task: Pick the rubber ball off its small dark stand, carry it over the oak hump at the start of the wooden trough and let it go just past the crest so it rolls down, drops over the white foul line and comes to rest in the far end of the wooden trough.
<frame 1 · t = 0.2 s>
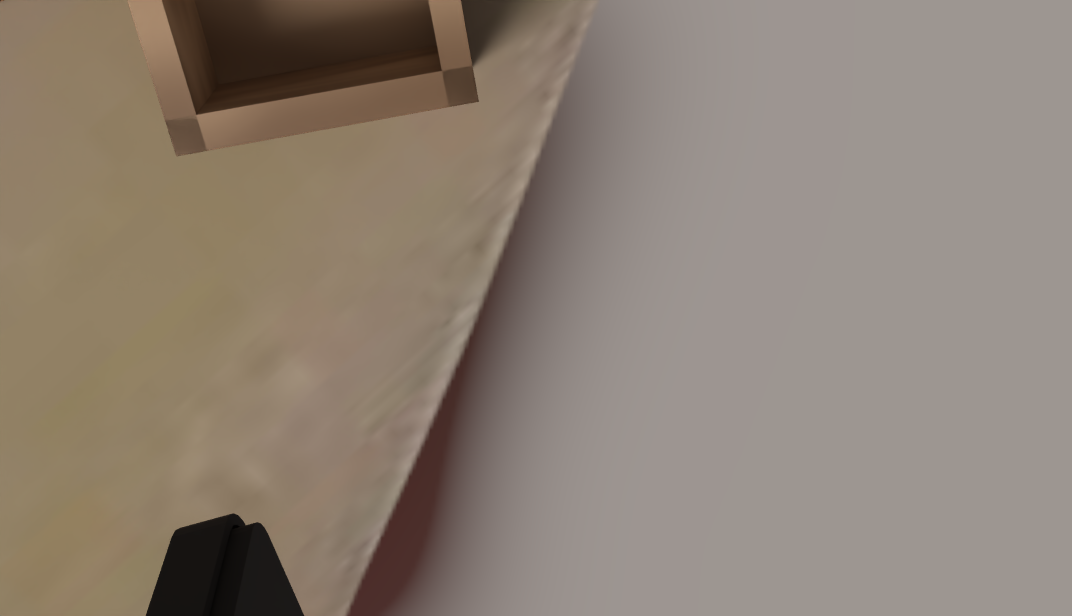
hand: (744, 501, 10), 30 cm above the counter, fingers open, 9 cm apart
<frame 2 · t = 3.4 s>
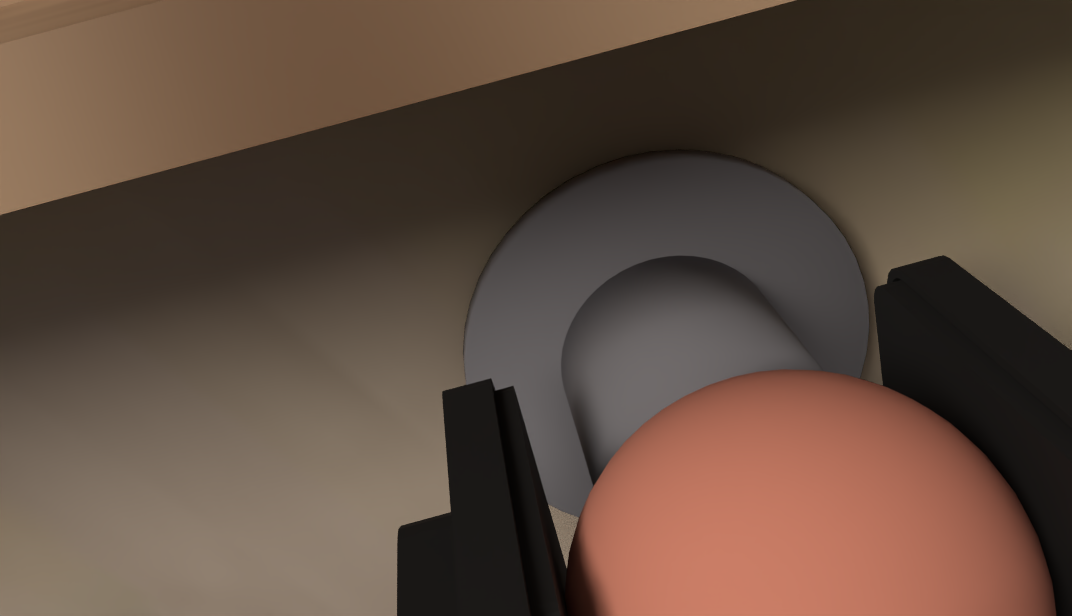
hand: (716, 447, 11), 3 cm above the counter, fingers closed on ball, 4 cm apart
stand: (663, 344, 13), on the counter
ball: (797, 601, 9), point 5 cm above the counter, touching gripper, stand
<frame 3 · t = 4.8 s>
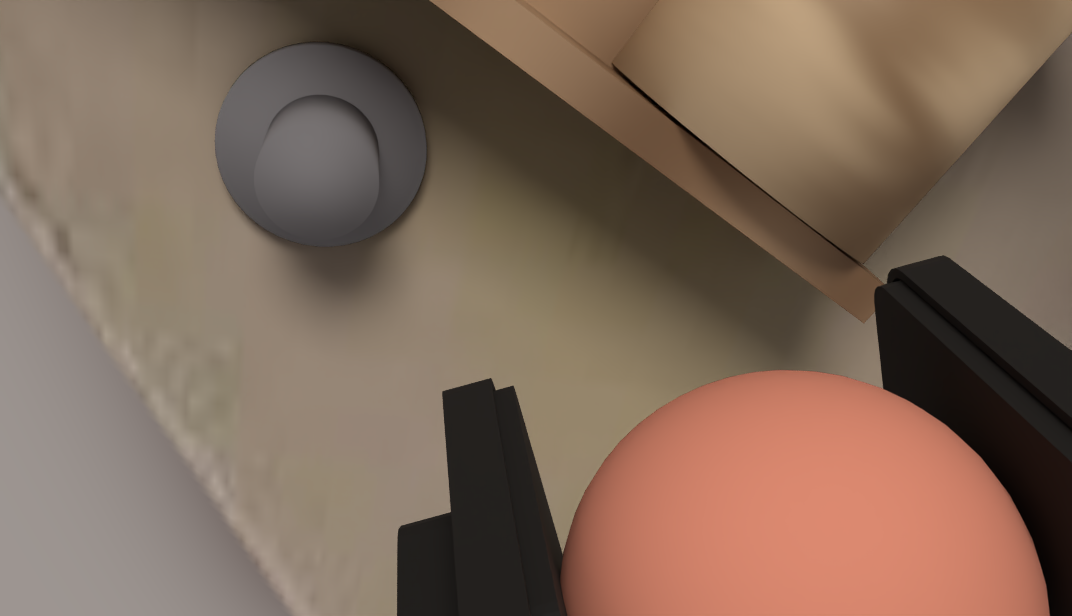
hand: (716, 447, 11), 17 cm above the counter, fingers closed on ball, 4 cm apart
stand: (323, 145, 26), on the counter
ball: (791, 602, 9), point 19 cm above the counter, touching gripper
when the fingers open (7 cm above the counter, at t = 6.7 s): ball drops 7 cm and tips over, resting on wooden trough.
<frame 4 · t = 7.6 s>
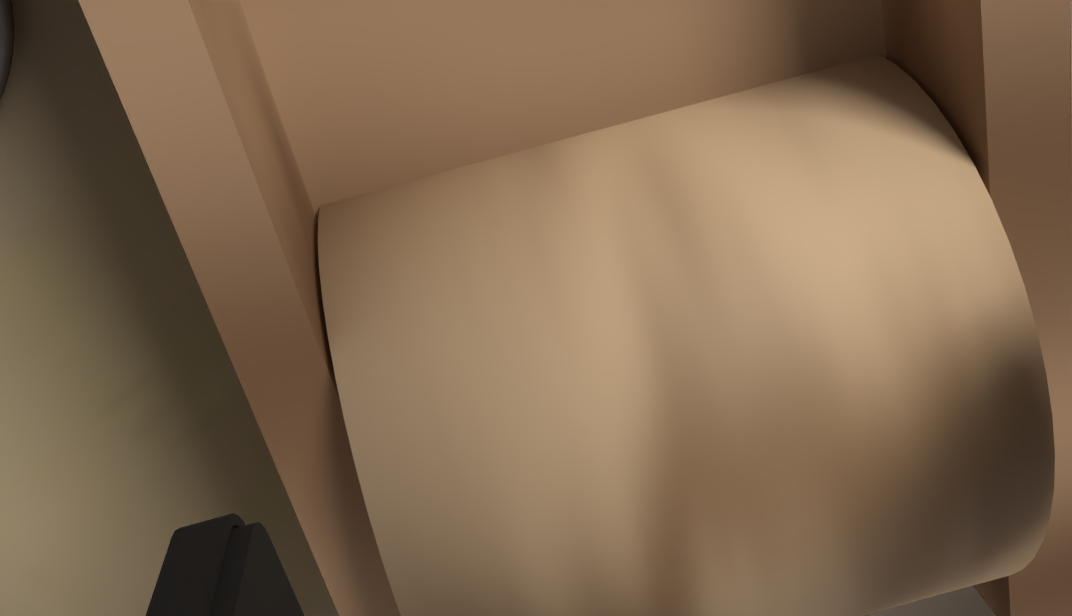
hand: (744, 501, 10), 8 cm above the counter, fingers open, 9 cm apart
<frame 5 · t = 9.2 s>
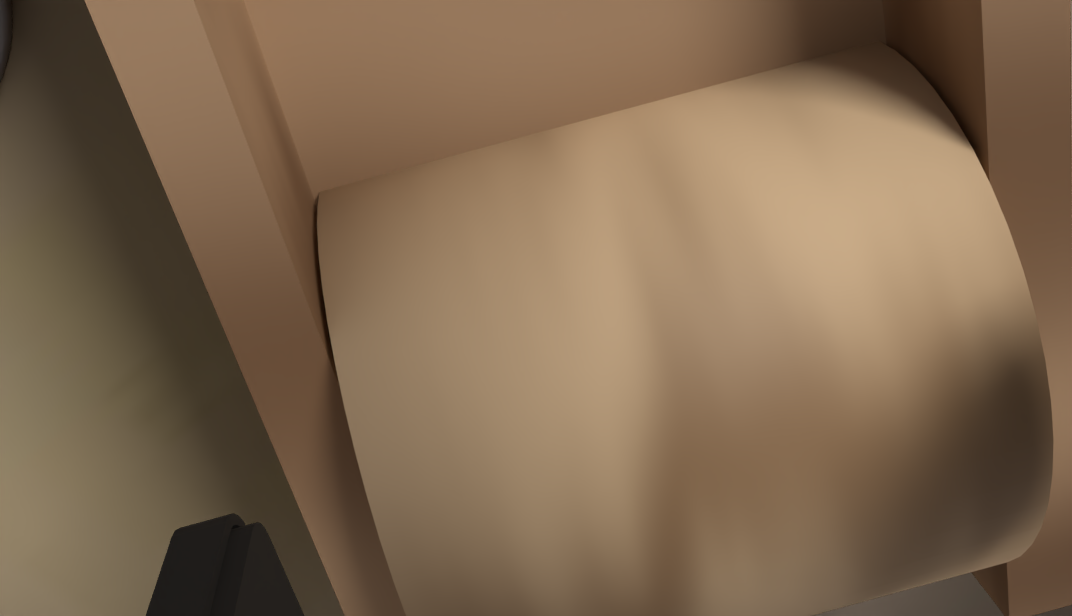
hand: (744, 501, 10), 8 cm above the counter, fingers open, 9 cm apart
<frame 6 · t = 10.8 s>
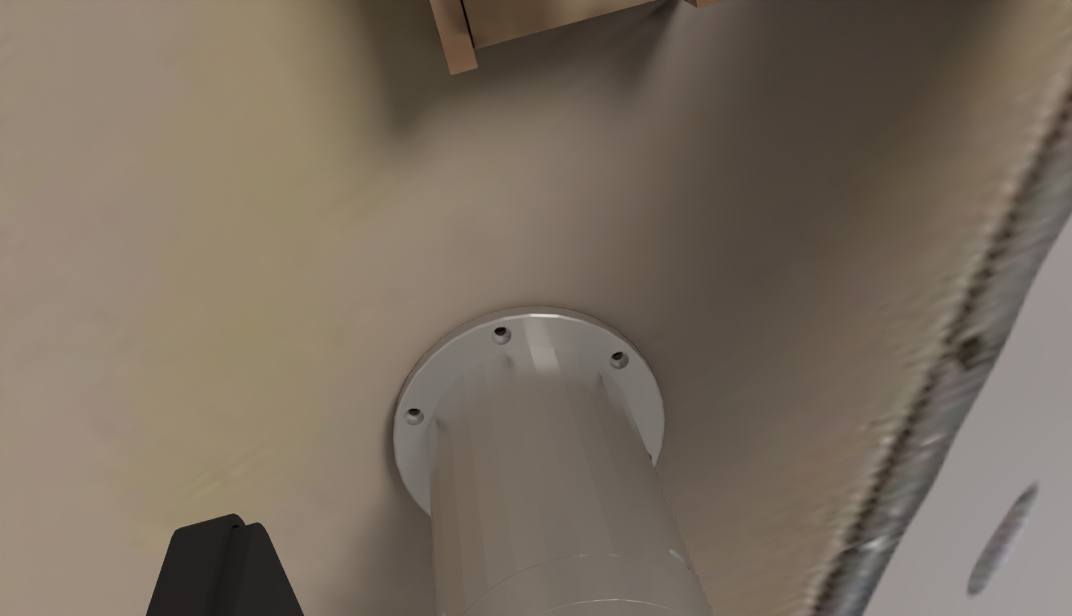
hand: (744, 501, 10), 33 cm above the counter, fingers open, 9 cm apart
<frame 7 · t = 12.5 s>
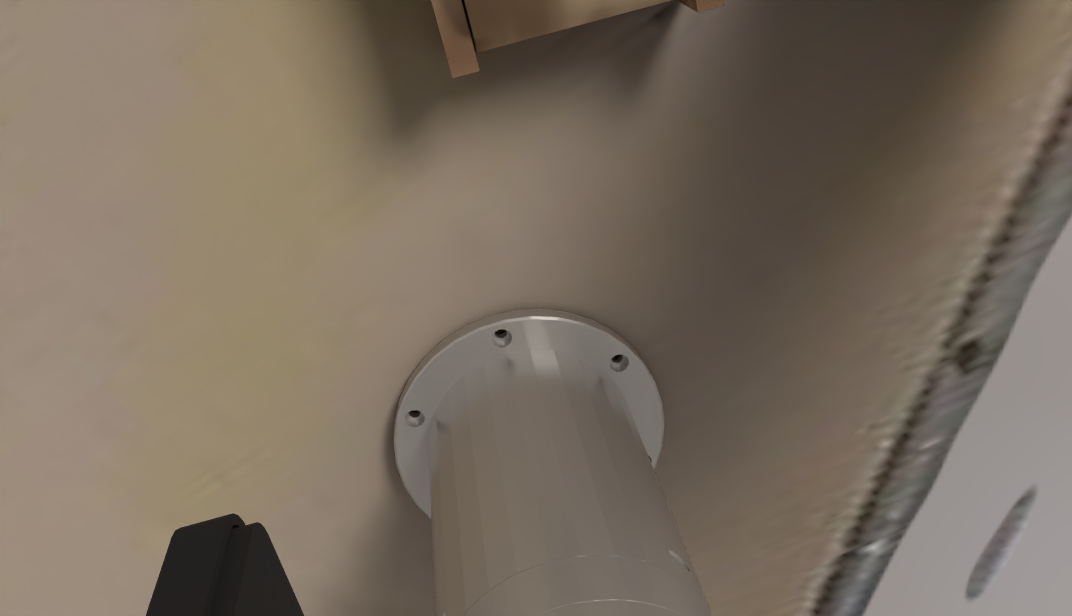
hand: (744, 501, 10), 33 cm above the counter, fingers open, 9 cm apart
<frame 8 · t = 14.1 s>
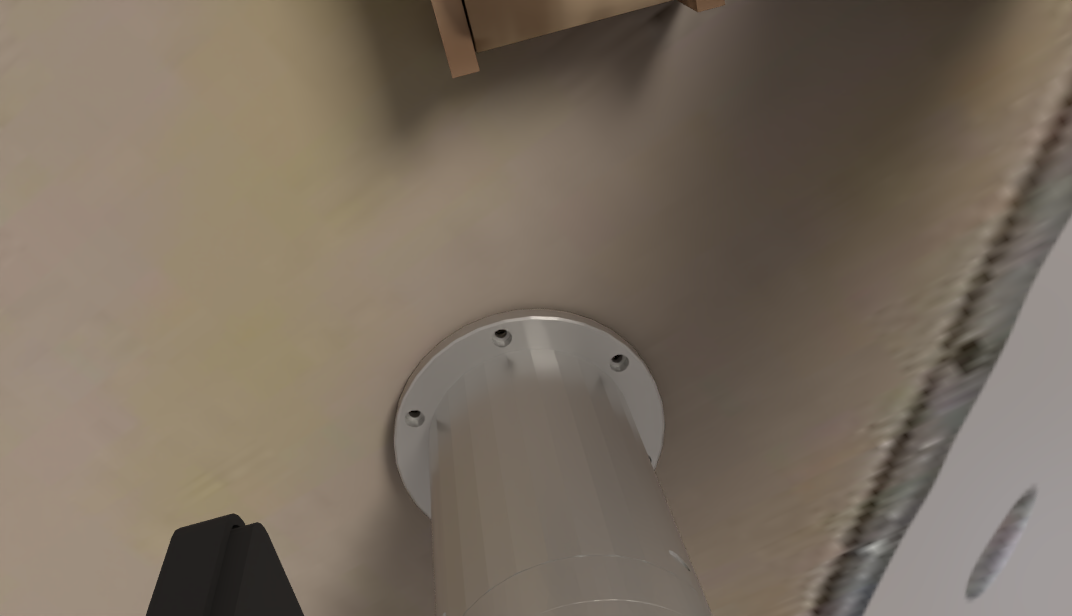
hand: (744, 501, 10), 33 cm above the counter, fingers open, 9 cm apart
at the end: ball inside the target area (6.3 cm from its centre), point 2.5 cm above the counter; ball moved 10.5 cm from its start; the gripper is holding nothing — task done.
